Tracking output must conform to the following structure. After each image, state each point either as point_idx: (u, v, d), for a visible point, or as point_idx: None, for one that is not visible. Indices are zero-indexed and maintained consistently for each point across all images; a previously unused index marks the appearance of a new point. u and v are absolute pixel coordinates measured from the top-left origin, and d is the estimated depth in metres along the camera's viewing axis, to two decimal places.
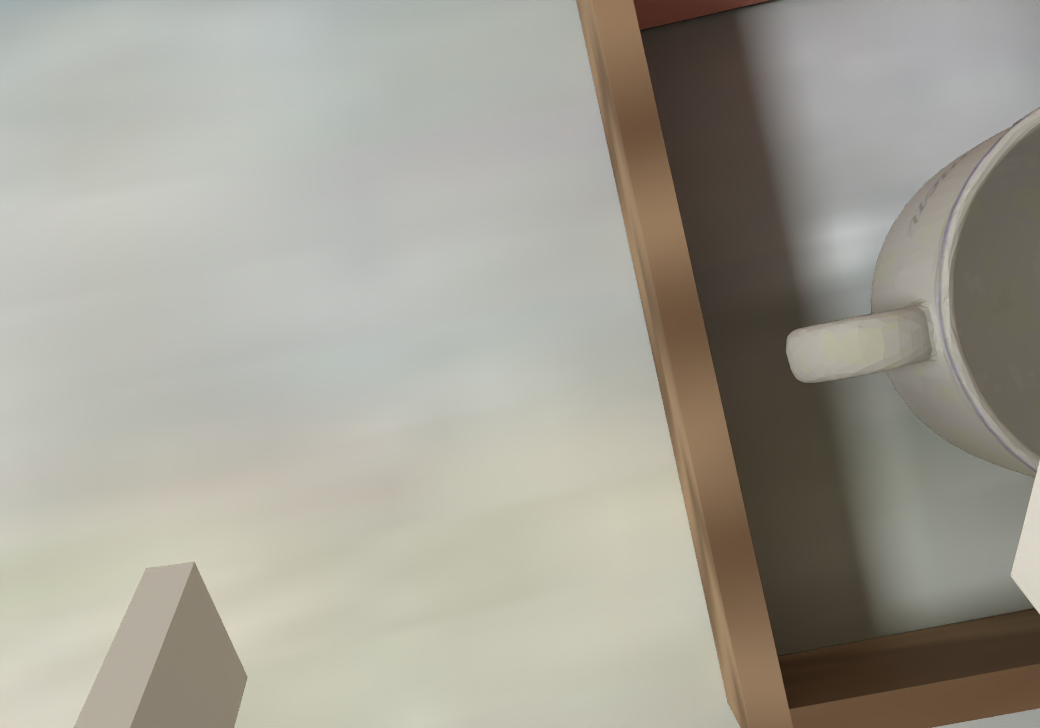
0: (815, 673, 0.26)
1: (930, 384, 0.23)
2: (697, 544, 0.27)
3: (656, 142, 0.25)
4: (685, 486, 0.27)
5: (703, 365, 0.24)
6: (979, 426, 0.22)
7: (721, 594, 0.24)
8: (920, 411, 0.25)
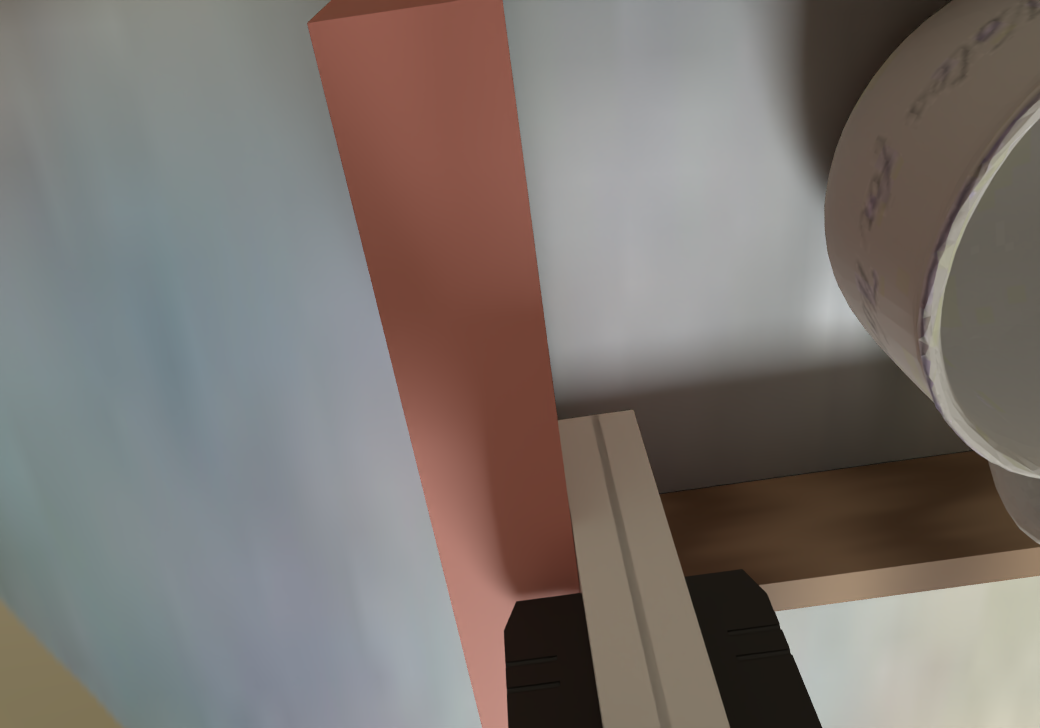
0: None
1: None
2: None
3: None
4: None
5: (994, 560, 0.24)
6: None
7: None
8: None
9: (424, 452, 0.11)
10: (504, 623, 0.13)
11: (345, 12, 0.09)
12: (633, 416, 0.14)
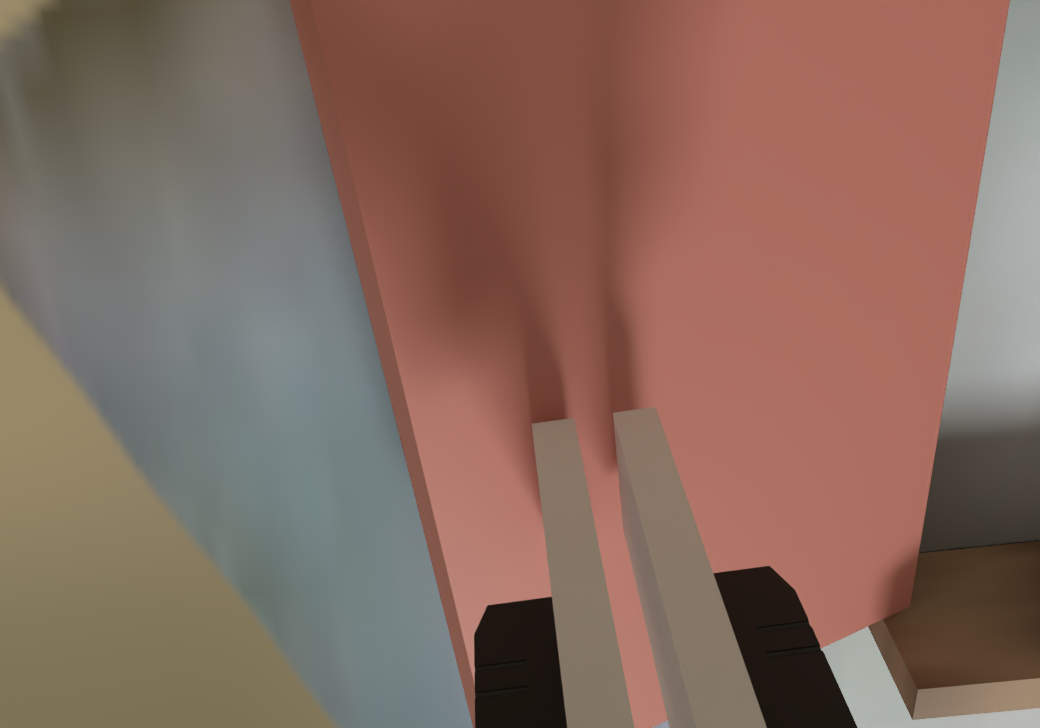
0: None
1: None
2: None
3: None
4: None
5: None
6: None
7: None
8: None
9: (372, 325, 0.15)
10: (418, 494, 0.16)
11: None
12: (656, 413, 0.14)
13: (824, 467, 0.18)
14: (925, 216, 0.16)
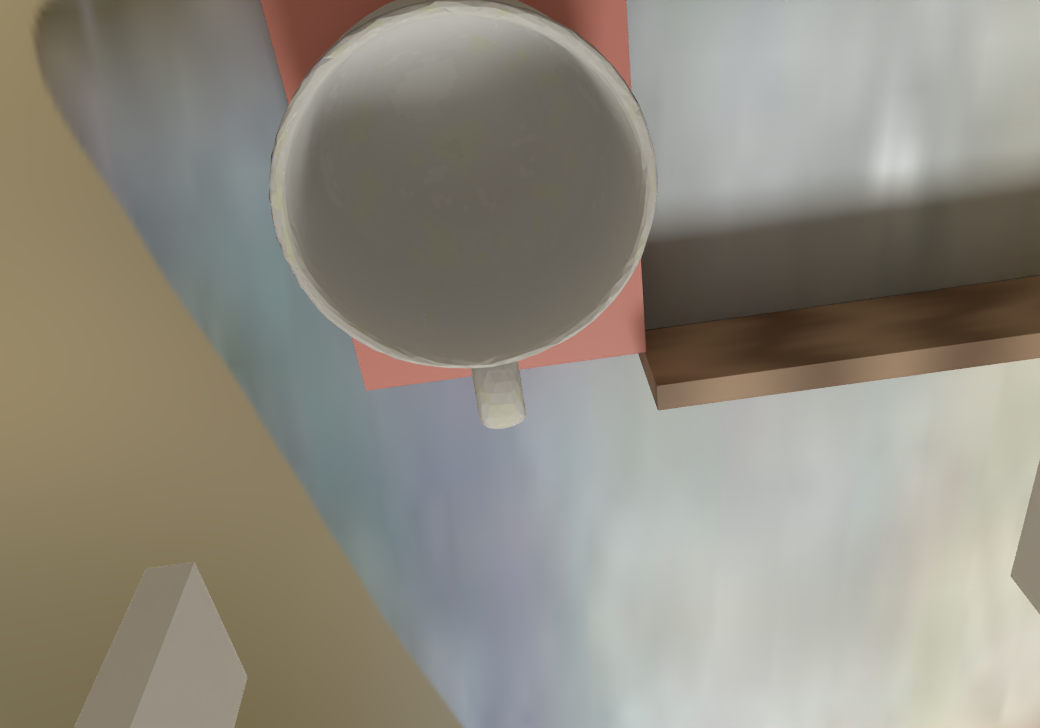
0: None
1: None
2: None
3: (836, 365, 0.33)
4: None
5: (1005, 343, 0.33)
6: None
7: None
8: None
9: None
10: None
11: None
12: None
13: None
14: None
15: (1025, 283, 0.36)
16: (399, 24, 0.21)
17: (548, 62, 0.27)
